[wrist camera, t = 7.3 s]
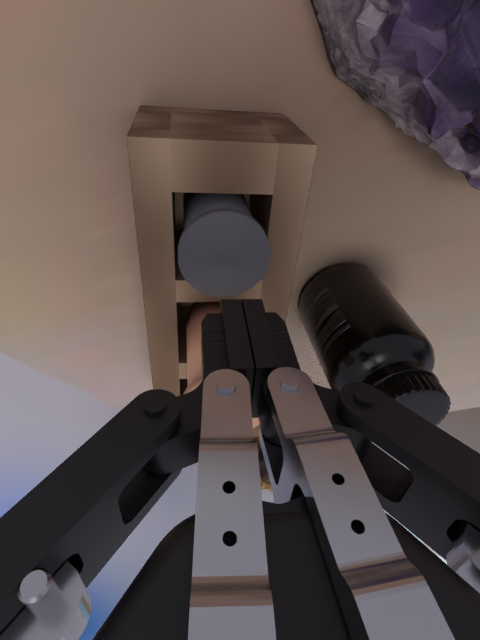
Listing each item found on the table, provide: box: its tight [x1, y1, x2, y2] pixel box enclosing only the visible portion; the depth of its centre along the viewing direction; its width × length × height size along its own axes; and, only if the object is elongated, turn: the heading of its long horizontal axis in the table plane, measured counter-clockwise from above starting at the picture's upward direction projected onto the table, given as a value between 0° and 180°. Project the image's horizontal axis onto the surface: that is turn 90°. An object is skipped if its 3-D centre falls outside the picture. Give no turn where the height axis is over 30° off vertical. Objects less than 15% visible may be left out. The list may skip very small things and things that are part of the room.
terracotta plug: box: [184, 302, 260, 428], centre depth 21 cm, size 4×4×7 cm
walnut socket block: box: [127, 106, 318, 437], centre depth 25 cm, size 8×21×7 cm, turn 176°
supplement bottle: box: [299, 264, 451, 426], centre depth 26 cm, size 7×7×12 cm
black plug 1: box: [178, 193, 271, 297], centre depth 20 cm, size 4×4×7 cm
